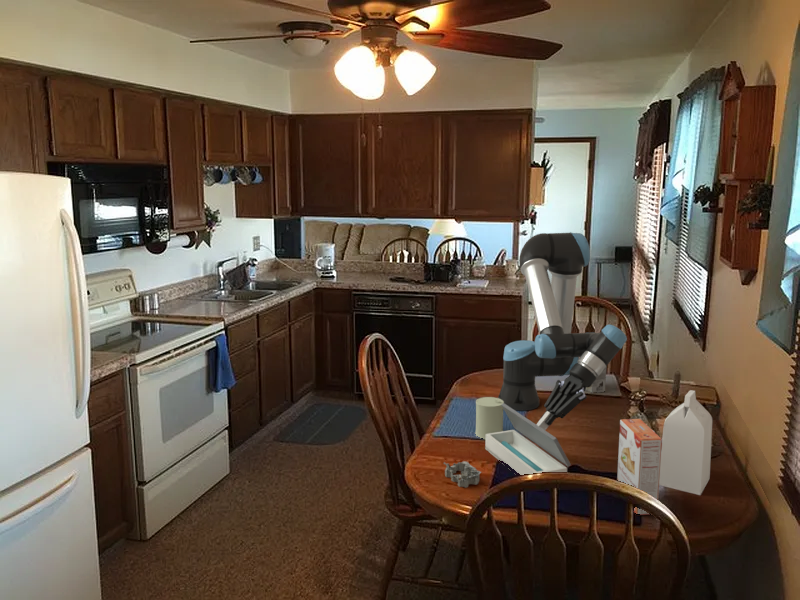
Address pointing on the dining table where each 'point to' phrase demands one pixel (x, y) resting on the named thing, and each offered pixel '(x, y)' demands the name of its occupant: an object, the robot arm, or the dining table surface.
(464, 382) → the dining table surface
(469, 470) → the grey lumpy piece
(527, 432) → the cover
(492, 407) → the can
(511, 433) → the hinged pencil box
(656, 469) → the cracker box
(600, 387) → the coffee box
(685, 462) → the milk
